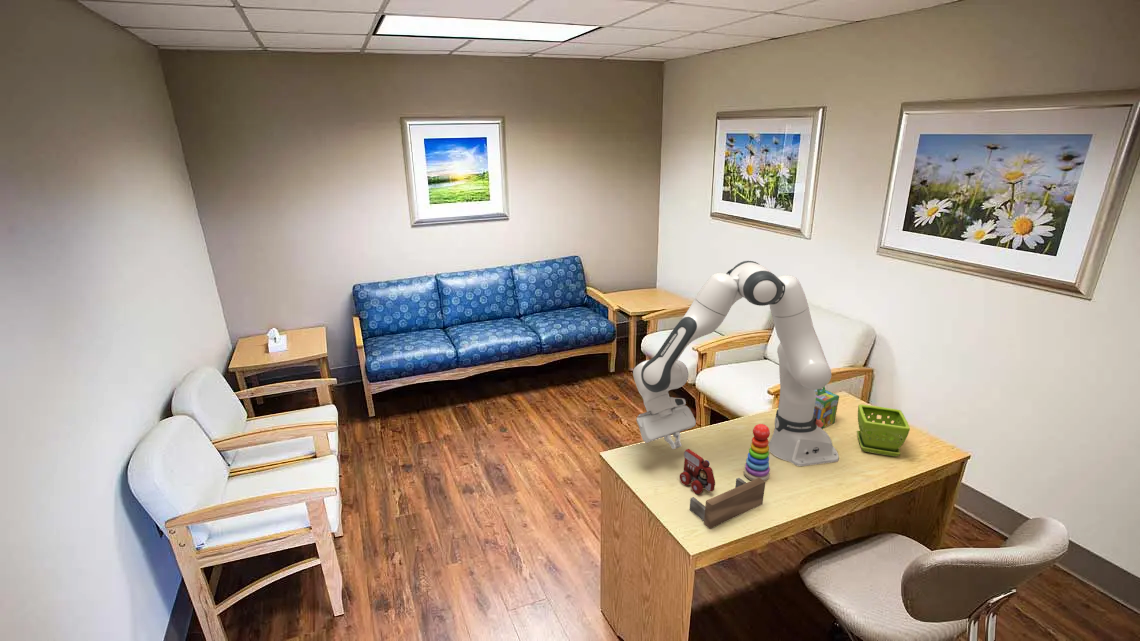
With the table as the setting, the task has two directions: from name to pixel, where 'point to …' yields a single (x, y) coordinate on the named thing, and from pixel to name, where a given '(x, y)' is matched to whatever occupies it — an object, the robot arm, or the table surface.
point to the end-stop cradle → (730, 502)
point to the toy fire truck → (697, 473)
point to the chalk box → (826, 406)
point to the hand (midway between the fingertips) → (677, 447)
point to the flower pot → (881, 430)
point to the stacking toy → (758, 454)
